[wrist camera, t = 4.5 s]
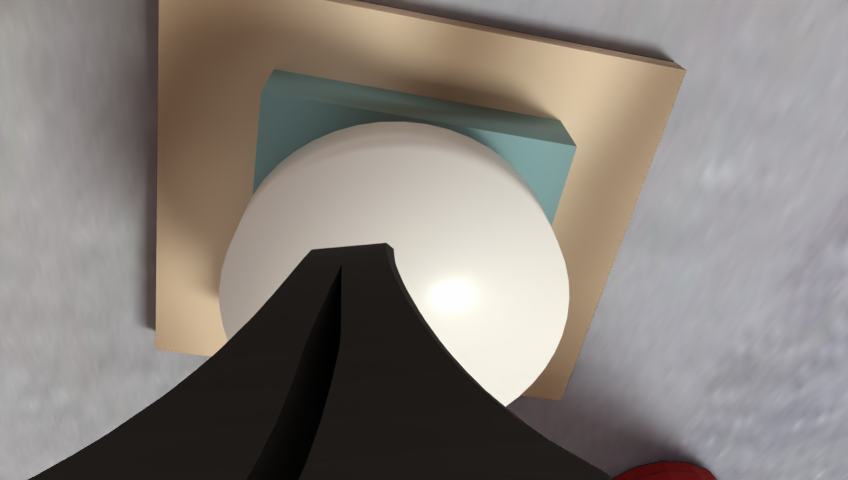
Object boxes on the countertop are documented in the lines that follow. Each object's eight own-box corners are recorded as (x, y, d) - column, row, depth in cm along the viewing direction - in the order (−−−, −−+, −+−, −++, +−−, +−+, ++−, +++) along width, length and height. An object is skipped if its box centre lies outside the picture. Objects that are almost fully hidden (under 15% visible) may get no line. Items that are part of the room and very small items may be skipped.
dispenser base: (676, 62, 19) (716, 91, 17) (556, 385, 25) (573, 442, 23) (168, -36, 18) (131, -20, 15) (162, 334, 23) (135, 390, 21)
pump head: (572, 119, 19) (616, 183, 15) (498, 358, 23) (518, 456, 19) (264, 64, 18) (229, 118, 14) (243, 324, 22) (211, 420, 18)
